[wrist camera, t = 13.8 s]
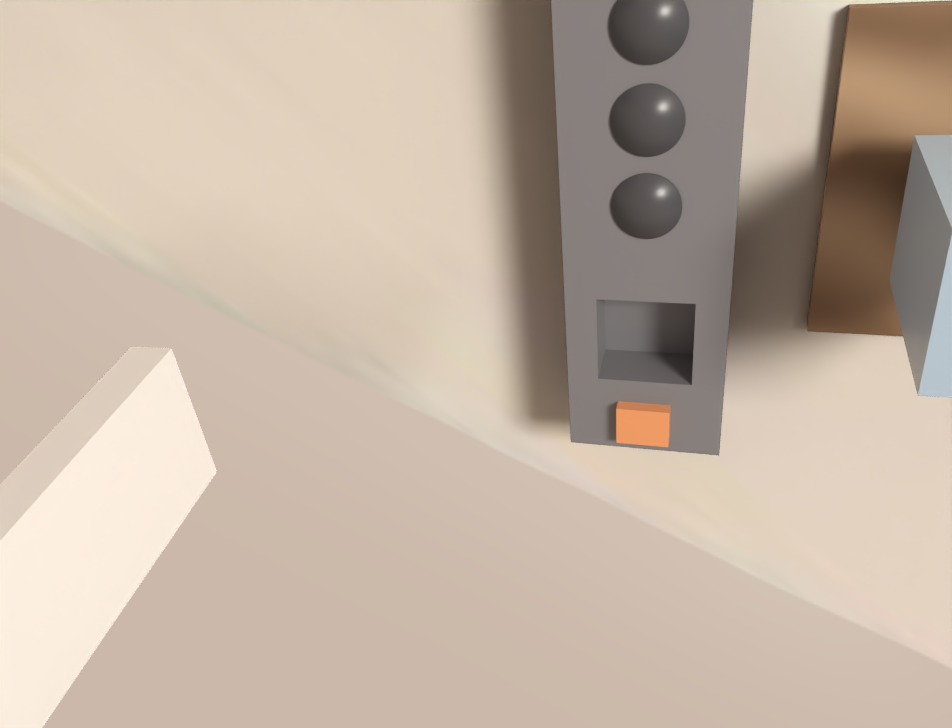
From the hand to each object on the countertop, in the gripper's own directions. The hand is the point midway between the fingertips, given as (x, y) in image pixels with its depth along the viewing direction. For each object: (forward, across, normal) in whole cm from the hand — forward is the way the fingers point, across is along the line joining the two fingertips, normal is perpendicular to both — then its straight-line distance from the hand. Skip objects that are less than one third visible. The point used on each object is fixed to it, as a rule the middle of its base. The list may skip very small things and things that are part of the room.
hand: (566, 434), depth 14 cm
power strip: (+27, 0, -5) cm, 27 cm away
